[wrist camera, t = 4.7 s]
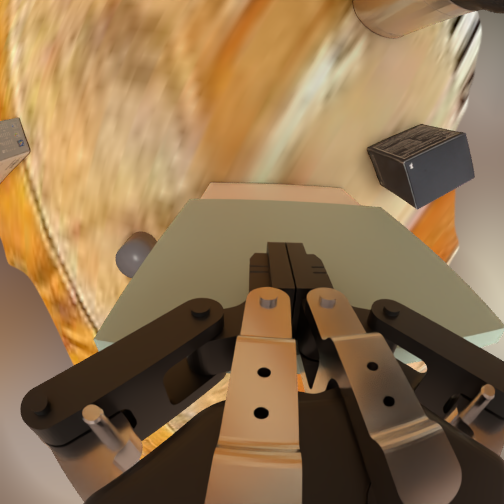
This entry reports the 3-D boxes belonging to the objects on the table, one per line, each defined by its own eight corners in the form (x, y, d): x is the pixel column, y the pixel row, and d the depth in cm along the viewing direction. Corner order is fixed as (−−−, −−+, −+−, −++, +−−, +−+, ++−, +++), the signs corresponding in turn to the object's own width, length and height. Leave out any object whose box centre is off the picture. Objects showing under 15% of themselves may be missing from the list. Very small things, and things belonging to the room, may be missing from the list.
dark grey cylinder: (126, 231, 40) (112, 245, 36) (156, 231, 40) (145, 246, 36) (131, 261, 43) (119, 277, 38) (160, 262, 43) (151, 279, 38)
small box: (380, 188, 37) (416, 213, 27) (365, 147, 34) (400, 161, 25) (434, 162, 34) (477, 179, 25) (421, 122, 32) (466, 130, 22)
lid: (190, 209, 25) (189, 198, 25) (378, 217, 25) (380, 207, 25) (101, 358, 9) (93, 339, 9) (497, 342, 9) (506, 327, 9)
